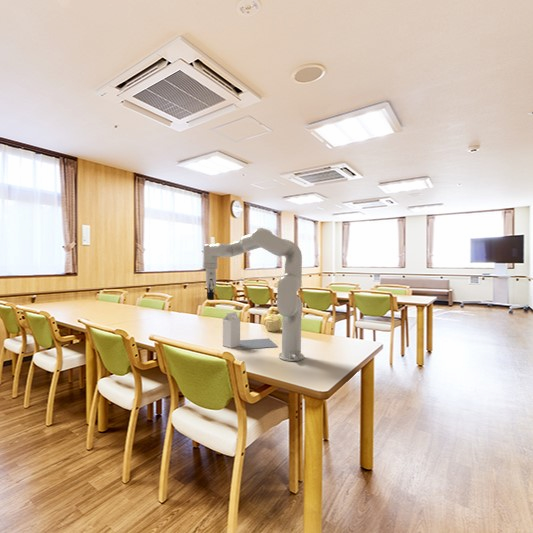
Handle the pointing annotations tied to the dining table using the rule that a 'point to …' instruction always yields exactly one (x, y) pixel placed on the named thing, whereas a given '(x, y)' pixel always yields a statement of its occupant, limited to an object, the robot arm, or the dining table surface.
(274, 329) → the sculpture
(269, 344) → the back mat
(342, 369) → the dining table surface
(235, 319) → the milk carton
